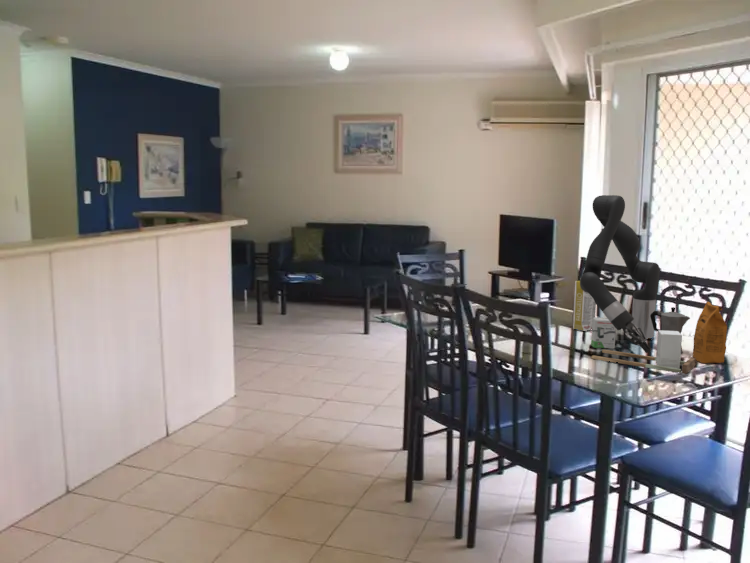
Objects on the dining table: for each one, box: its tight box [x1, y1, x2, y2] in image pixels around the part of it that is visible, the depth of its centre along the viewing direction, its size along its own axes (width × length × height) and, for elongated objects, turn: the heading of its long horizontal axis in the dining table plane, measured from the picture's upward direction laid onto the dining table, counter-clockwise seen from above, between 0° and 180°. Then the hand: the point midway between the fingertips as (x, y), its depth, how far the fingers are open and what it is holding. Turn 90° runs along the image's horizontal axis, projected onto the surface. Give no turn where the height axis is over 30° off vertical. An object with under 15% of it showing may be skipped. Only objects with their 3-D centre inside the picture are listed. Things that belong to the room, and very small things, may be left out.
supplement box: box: [655, 329, 683, 369], centre depth 250 cm, size 7×7×13 cm
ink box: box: [590, 316, 617, 349], centre depth 278 cm, size 9×5×12 cm, turn 85°
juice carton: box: [572, 277, 597, 332], centre depth 309 cm, size 9×8×24 cm
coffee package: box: [692, 301, 728, 364], centre depth 257 cm, size 10×12×22 cm
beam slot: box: [590, 348, 696, 375], centre depth 255 cm, size 14×34×3 cm, turn 53°
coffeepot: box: [650, 306, 691, 354], centre depth 271 cm, size 15×9×18 cm, turn 45°
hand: (649, 351), depth 253 cm, fingers closed
